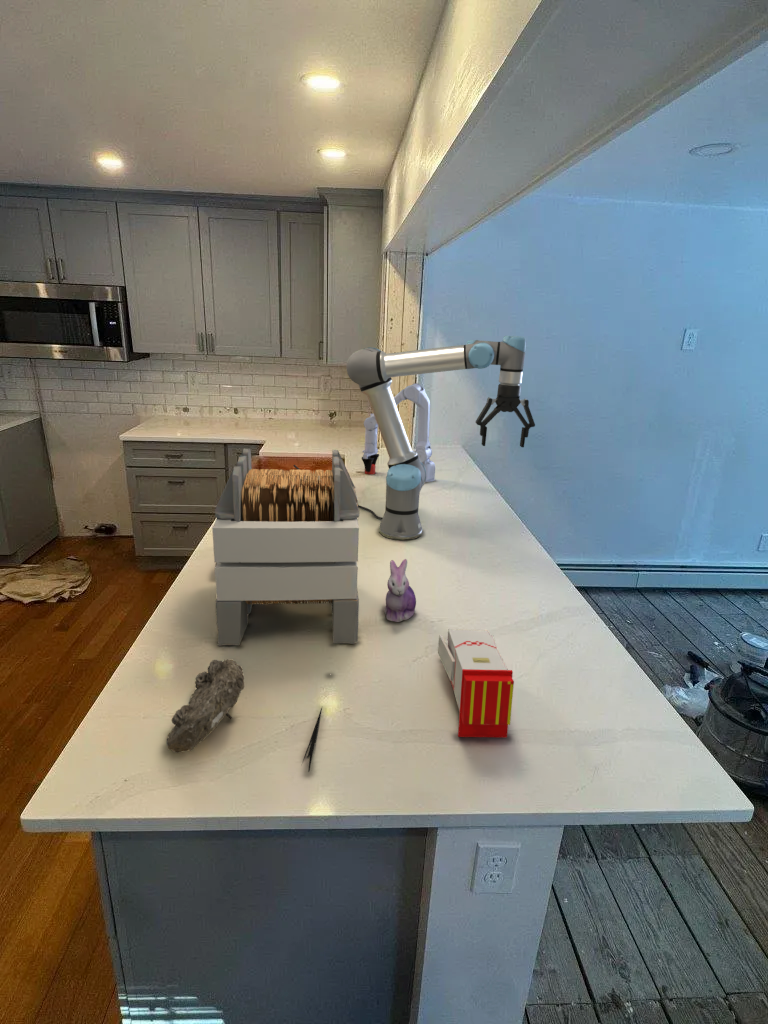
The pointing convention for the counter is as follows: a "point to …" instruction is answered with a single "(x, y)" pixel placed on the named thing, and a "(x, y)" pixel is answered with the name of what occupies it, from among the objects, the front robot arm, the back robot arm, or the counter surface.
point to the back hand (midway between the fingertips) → (370, 470)
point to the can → (371, 470)
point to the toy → (478, 682)
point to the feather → (313, 740)
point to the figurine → (399, 594)
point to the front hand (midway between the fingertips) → (502, 445)
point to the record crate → (286, 545)
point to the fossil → (206, 705)
